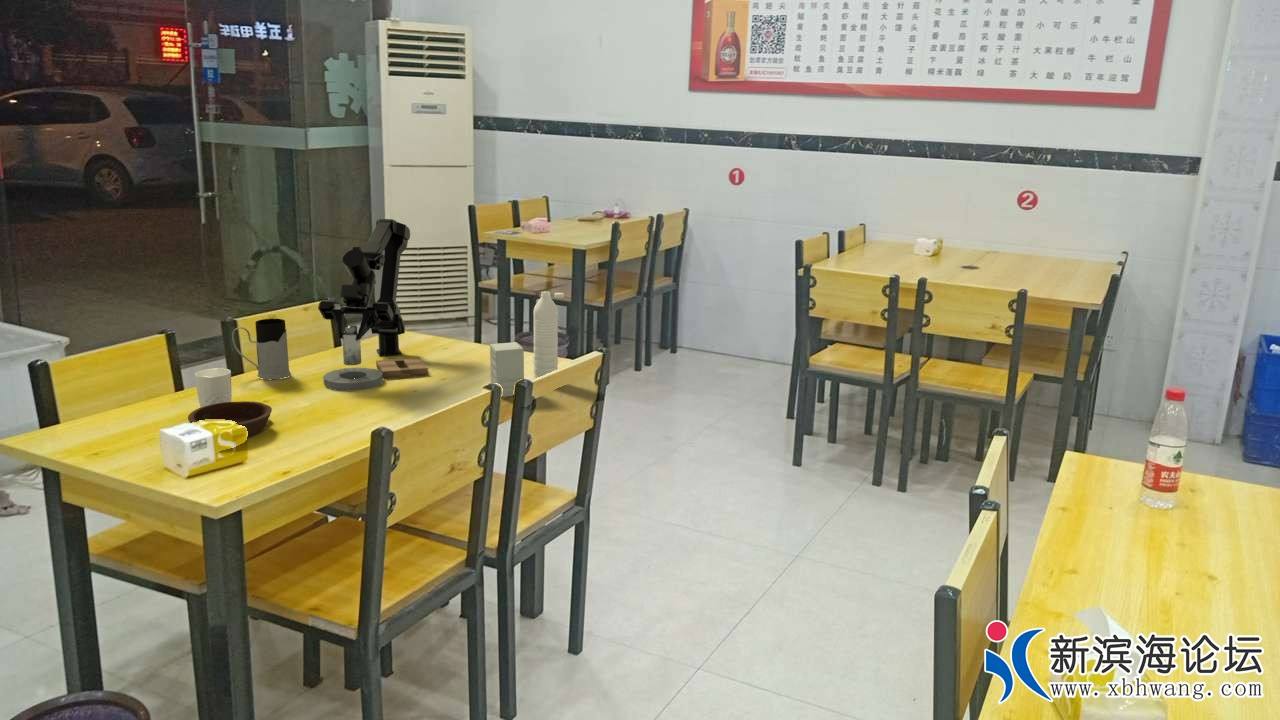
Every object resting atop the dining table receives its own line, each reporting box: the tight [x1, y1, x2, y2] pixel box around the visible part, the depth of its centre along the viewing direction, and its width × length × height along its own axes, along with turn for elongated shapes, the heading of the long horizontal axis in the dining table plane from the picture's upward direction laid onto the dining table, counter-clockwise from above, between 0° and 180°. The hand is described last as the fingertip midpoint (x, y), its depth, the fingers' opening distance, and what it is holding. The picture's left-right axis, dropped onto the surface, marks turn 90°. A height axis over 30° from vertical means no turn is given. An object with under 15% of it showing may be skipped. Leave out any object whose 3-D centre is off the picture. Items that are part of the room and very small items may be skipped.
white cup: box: [194, 367, 233, 408], centre depth 243 cm, size 8×8×10 cm
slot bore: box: [375, 356, 429, 380], centre depth 282 cm, size 12×12×2 cm
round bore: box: [322, 367, 384, 391], centre depth 271 cm, size 15×15×2 cm
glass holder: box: [231, 318, 292, 380], centre depth 273 cm, size 9×14×15 cm, turn 104°
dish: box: [187, 400, 273, 438], centre depth 230 cm, size 18×22×5 cm
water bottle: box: [533, 290, 565, 379], centre depth 271 cm, size 9×6×25 cm
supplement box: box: [489, 341, 525, 398], centre depth 264 cm, size 7×7×13 cm
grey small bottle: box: [341, 324, 362, 366], centre depth 269 cm, size 4×4×10 cm
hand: (349, 338), depth 267 cm, fingers closed on grey small bottle, 4 cm apart
